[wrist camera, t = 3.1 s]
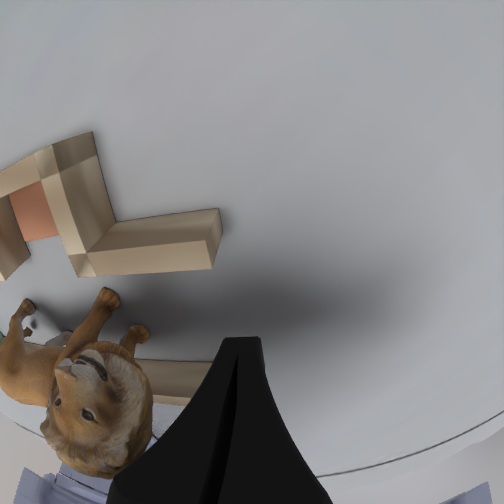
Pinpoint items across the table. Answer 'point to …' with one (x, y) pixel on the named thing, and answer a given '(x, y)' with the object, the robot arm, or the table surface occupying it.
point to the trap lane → (102, 238)
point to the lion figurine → (83, 390)
